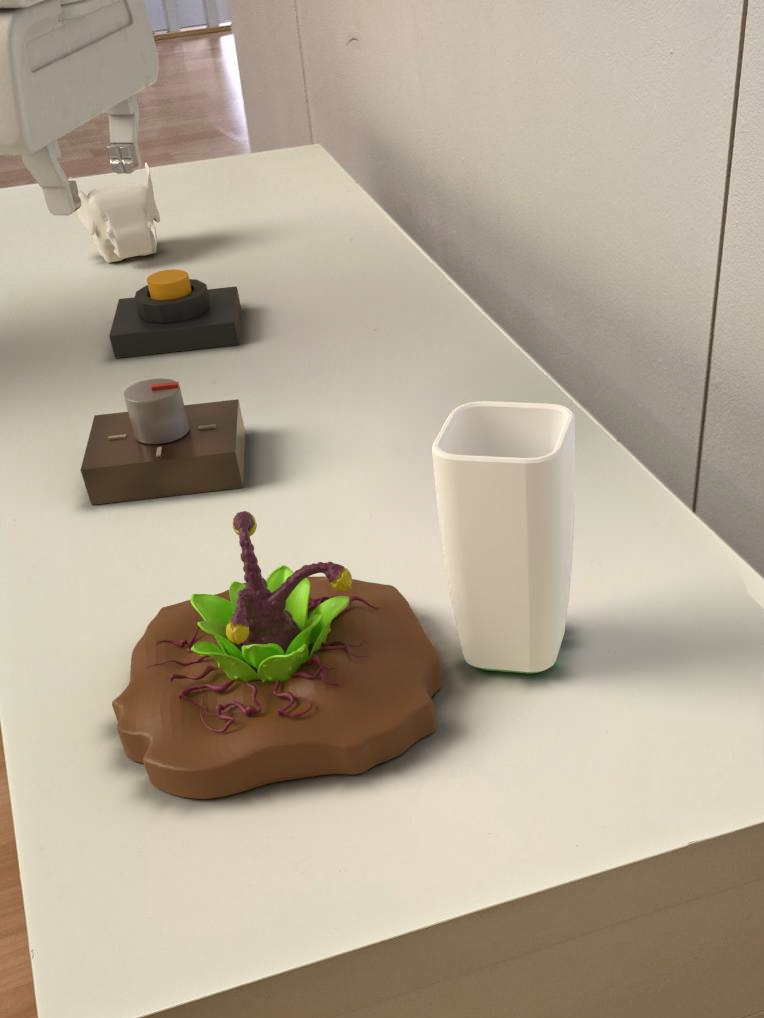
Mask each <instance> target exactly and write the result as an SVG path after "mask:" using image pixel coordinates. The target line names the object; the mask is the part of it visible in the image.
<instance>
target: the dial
mask: <svg viewBox="0 0 764 1018" xmlns="http://www.w3.org/2000/svg"><path fill="white" fill-rule="evenodd" d="M123 399H124V402H125V406H126V410H127V412H128V414H129V417H130V421H131V425H132V428H133V432H134V436H135V438H136V440H138V441H139V442H141V443H145V444H164V443H168V442H172V441H175V440H178V439H180V438H182V437H183V436H185V435H186V434H187V433H188V431H189V423H188V419H187V414H186V410H185V406H184V405H185V402H184V398H183V393H182V389H181V385H180V383H179V381H176V380H173V379H170V378H150V379H144V380H142V381H138V382H136V383H133V384H131V385H130V386H128V387H126V389H125V390H124V392H123Z"/></svg>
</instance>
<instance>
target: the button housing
mask: <svg viewBox="0 0 764 1018" xmlns="http://www.w3.org/2000/svg"><path fill="white" fill-rule="evenodd" d="M189 281H190V285H191V290H192V292H191V293H190V294H188V295H186V296H183V297H180V298H176V299H170V300H155V299H151V296H150V292H149V288H148V284H146V285H145V286H143V287H141V288H140V289H138V290H136V291H135V295H134V297H124V298H119V299H118V301H117V305H116V309H115V313H114V316H113V321H112V324H111V327H110V332H109V335H108V337H109V341H110V345H111V348H112V352H113V356H114V358H115V359H124V358H133V357H140V356H149V355H157V354H160V355H161V354H168V353H177V352H178V353H179V352H185V351H195V350H204V349H213V348H223V347H231V346H239V345H240V332H241V331H240V330H241V316H242V315H241V313H242V306H241V300H240V295H239V289H238V286H235V285H234V286H227V287H218V288H208V285H207V284H206V283H204V282H203V281H201V280H199V279H196V278H195V279H194V278H189Z"/></svg>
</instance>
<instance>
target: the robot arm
mask: <svg viewBox="0 0 764 1018" xmlns="http://www.w3.org/2000/svg"><path fill="white" fill-rule="evenodd" d="M159 60H160V59H159V53H158V50H157V45H156V41H155V37H154V34H153V29H152V26H151V22H150V19H149V15H148V11H147V8H146V3H145V0H0V156H20V157H21V160H22V164H23V165H24V166H25V168H26V169H27V170H28V172H29V173H30V175H31V176H32V177H33V179H34V180H35V181H36V183H37V184H38V186H39V187H40V188H41V189H42V193H43V196H44V197H43V198H44V200H45V203H46V207H47V210H48V211H49V213H50V214H51V215H53V216H56V217H57V216H58V217H59V216H60V217H61V216H62V217H63V216H65V217H66V216H70V215H72V214H73V213H75V212H76V211H77V209H79V208H80V207H81V199H80V197H79V196H78V188H79V187H78V185H77V181H76V180H73V181H70V179H69V178H68V177H67V175H66V173H65V171H64V170H63V167H62V166H61V164H60V162H59V159H60V158H61V157H62V153H61V149H60V144H59V142H58V140H59V139H60V138H62V137H65V136H66V135H68V134H69V133H71V132H73V131H75V130H76V129H78V128H79V127H82V126H84V125H85V124H86V123H88V122H90V121H92V120H93V119H95V118H96V117H99V116H101V115H102V114H104V115H108V128H109V139H110V140H109V143H110V144H109V143H108V145H107V146H106V147H105V149H106V153H107V156H108V158H109V164H110V168H111V170H112V171H113V173H115V174H117V175H118V174H119V175H122V174H126V175H127V174H128V175H130V174H132V173H134V172H135V171H136V170H138V169H139V168H141V166H142V163H143V161H142V157H141V153H140V148H139V143H138V139H139V123H140V107H139V102H138V99H137V94H138V93H139V92H141V91H143V90H145V89H146V88H148V87H150V86H151V85H153V84H155V83H156V82H158V80H159V79H158V78H159V70H160V69H159V68H160V61H159ZM77 187H78V188H77Z"/></svg>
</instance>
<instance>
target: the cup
mask: <svg viewBox="0 0 764 1018" xmlns="http://www.w3.org/2000/svg"><path fill="white" fill-rule="evenodd" d="M431 454H432V463H433V475H434V485H435V487H434V488H435V497H436V506H437V507H436V508H437V515H438V516H437V517H438V523H439V524H438V525H439V533H440V540H441V547H442V548H441V549H442V556H443V560H444V568H445V574H446V580H447V587H448V592H449V597H450V603H451V608H452V611H453V612H452V613H453V617H454V622H455V626H456V631H457V634H458V639H459V644H460V646H461V650H462V654H463V659H464V660H465V662H466V664H468V665H470V666H472V667H474V668H476V669H479V670H484V671H492V672H504V673H515V674H525V675H526V674H528V675H529V674H537V673H542V672H544V671H546V670H548V669H550V668H551V667H553V666H554V664H555V663H556V662H557V659H558V655H559V652H560V649H561V645H562V643H563V639H564V636H565V631H566V626H567V625H566V624H567V617H568V609H569V603H570V591H571V580H572V572H573V571H572V568H573V560H574V559H573V558H574V538H575V536H574V535H575V518H576V517H575V516H576V515H575V513H576V417H575V413H574V412H573V411H572V410H571V409H569V408H568V407H566V406H564V405H562V404H561V405H560V404H556V403H547V402H546V403H544V402H543V403H541V402H519V401H517V402H516V401H492V400H491V401H490V400H489V401H488V400H482V401H471V402H467V403H463V404H461V405H459V406H456V407H455V408H454V409H453V410H452V411H451V412H450V413H449V414H448V416H447V418H446V420H445V421H444V423H443V425H442V427H441V429H440V430H439V432H438V434H437V436H436V438H435V439H434V441H433V443H432V447H431Z"/></svg>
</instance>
